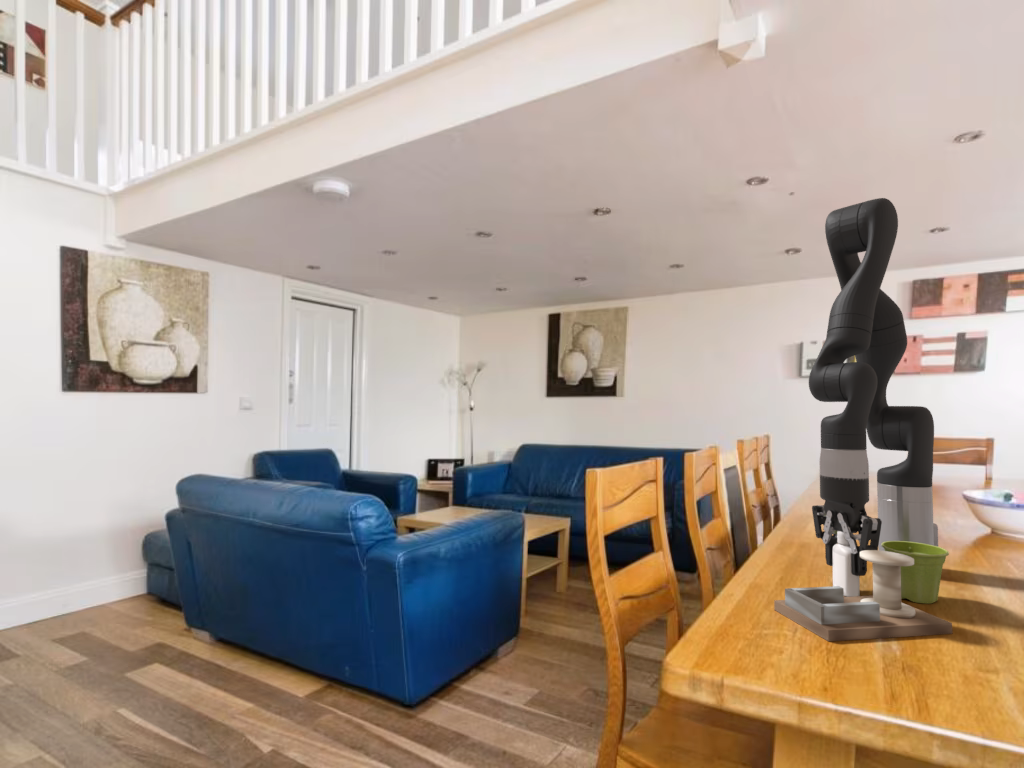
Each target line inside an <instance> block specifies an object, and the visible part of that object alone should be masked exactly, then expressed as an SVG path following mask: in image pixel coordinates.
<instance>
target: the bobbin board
mask: <svg viewBox="0 0 1024 768" xmlns="http://www.w3.org/2000/svg"><path fill="white" fill-rule="evenodd" d="M860 558H862V559H863V560H866V561H867V562H869V563H872V595H862V596H861V595H860V596H854V597H846V596H844V589H843V588H842V587H840V586H833V585H832V586H818V587H817V586H816V587H815V586H814V587H812V586H811V587H810V586H809V587H788V588H784V599H777V600H776V599H775V600H774V601H773V603H774V608H773V609H774V611H776V612H777V613H779V614H780V615H782V616H784V617H786V618H788V619H789V620H790V621H793V622H795V623H796V624H798V625H799V626H801V627H803V628H805V629H807V630H808V631H809V632H812V633H813V634H815V635H816V636H818V637H821V639H823V640H825V641H827V642H839V641H855V640H856V641H857V640H870V639H872V640H875V639H886V638H887V639H888V638H889V639H890V638H901V637H902V638H904V637H906V638H907V637H919V636H921V637H922V636H934V635H951V634H953V622H950V621H948V620H946V619H943V618H941V617H939V616H936V615H934V614H932V613H928V612H926V611H924V610H921V609H919V608H916V607H914V606H911V605H910V604H906V603H904V602H902V599H901V566H912V565H914V559H913V558H912V557H910V556H907V555H904V554H899V553H895V552H889V551H880V550H879V549H878V550H864V551H860Z"/></svg>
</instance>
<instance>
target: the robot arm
mask: <svg viewBox="0 0 1024 768" xmlns="http://www.w3.org/2000/svg"><path fill="white" fill-rule="evenodd" d="M894 205H895V204H893V202H892V201H891V200H890V199H888V198H885V197H879V198H873V199H869V200H867V201H862V202H859V203H856V204H851V205H847V206H843V207H841V208H837V209H834V210H832V211H830V212H829V214H828V215H827V217H826V220H825V223H824V224H825V225H824V227H825V228H824V230H825V231H824V233H825V239H826V244H827V247H828V250H829V253H830V257H831V261H832V263H833V266H834V270H835V273H836V275H837V280H838V283H839V286H840V292H839V293H838V294H837V296H836V298H835V299H834V301H833V303H832V305H831V308H830V312H829V317H828V322H827V323H828V324H827V331H826V337H825V341H824V343H823V345H822V346H821V349H820V350H819V351H820V352H819V353H818V355H817V358H816V360H814V361H815V362H814V363H813V365H812V368H811V370H810V372H809V376H808V388H809V391H810V394H811V395H812V397H813V398H814V399H815V400H817V401H819V402H821V403H822V402H824V403H847V404H846V406H845V408H844V409H843V411H842V412H841V413H838V414H837V413H836V414H832V415H828V416H824V417H823V418H822V419H821V421H820V453H819V454H820V455H819V496H820V498H821V499H822V500H823V501H824V503H823V505H821V504H817V505H812V506H811V510H812V519H813V526H814V531H815V536H816V538H817V539H821V540H822V542H823V544H824V545H825V546H824V547H825V548H824V549H825V550H824V551H825V553H824V554H825V557H824V558H825V563H826V565H828V566H830V567H833V557H832V554H833V546H834V545H835V544H838V542H837V531H839V530H840V531H842V532H843V533H844V536H845V539H846V540H848V541H849V544H850V547H851V551H852V553H851V572H852V574H853V575H855V576H859V577H862V576H863V577H864V576H866V575H867V571H868V561H866V560H863V559H862V558H860V551H864V550H880V551H885V550H884V548H883V547H882V545H881V544H882V543H883V542H886V541H907V542H916V543H923V544H929V545H933V546H937V547H939V526H938V524H937V523H934V501H933V498H934V497H933V495H934V494H933V475H934V441H935V423H934V422H935V421H934V418H933V414H932V412H931V410H929V408H927V407H926V406H922V405H921V406H920V405H919V406H918V405H916V406H915V405H888V401H887V387H888V384H889V381H890V380H891V377H892V376H893V374H894V372H895V370H896V368H897V367H898V365H899V364H900V362H901V361H902V359H903V357H904V355H905V353H906V350H907V347H908V337H907V331H906V326H905V322H904V321H905V320H904V315H903V312H902V310H901V308H900V307H899V306H898V304H897V303H896V302H895V301H894V300H893V299H892V298H891V297H890V296H889V295H888V294H887V293H886V292H885V291H883V290H882V289H881V286H882V283H883V281H884V278H885V275H886V271H887V269H888V266H889V263H890V260H891V256H892V253H893V249H894V246H895V242H896V239H897V235H898V227H899V219H898V218H899V217H898V212H897V209H896V207H895V206H894ZM864 252H865V253H864ZM859 253H864V256H863V258H862V260H861V258H860V257H859ZM851 357H855V361H853V362H846V361H847V359H849V358H851ZM867 437H868V440H869V442H870V444H871V445H872V446H873V447H874V448H875V449H879V450H883V451H900V452H907V456H906V458H905V460H903V461H901V462H899V463H897V464H895V465H889V466H886V467H881V468H878V470H877V473H876V491H877V495H876V496H877V498H876V499H877V518H876V517H874V518H873V517H871V516H869V515H868V513H867V510H866V507H865V506H866V504H867V503H869V501H870V480H869V479H870V476H869V474H870V473H869V470H870V468H869V467H870V465H869V458H868V453H867V452H868V451H867ZM822 525H823V529H822ZM852 533H853V534H852ZM857 533H858V534H857ZM857 541H858V542H857ZM869 542H870V543H869ZM858 543H859V544H858Z"/></svg>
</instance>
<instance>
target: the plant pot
mask: <svg viewBox="0 0 1024 768" xmlns="http://www.w3.org/2000/svg"><path fill="white" fill-rule="evenodd" d="M881 545H882V547H883V548H884V550H885V551H889V552H895V553H899V554H904V555H907V556H910V557H912V558H913V559H914V565H912V566H901V600H902V599H907V600H909V601H910V602H913V603H916V604H926V605H929V604H934V603H935V602H938V599H939V592H940V585H941V579H942V578H941V577H942V573H943V567H944V564H945V563H946V557H947V556H949V555H950V552H949V550H947V549H945V548H943V547H941V546H938V547H937V546H933V545H929V544H923V543H916V542H907V541H886V542H883V543H882V544H881Z"/></svg>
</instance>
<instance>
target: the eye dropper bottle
mask: <svg viewBox="0 0 1024 768" xmlns="http://www.w3.org/2000/svg"><path fill="white" fill-rule="evenodd" d="M852 534H854V533H852ZM837 542H838V543H837V544H835V545H834V546H833V554H832V557H833V566H832V586H840V587H842V588H843V589H844V597H854V596H861V595H860V592H861V591H860V582H861V581H860V576H855V575H853V574H852V572H851V553H852V551H851V547H850V544H849V541H848V540H846V539H845V536H844V533H843V532H842V531H840V530H839V531H837Z"/></svg>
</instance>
